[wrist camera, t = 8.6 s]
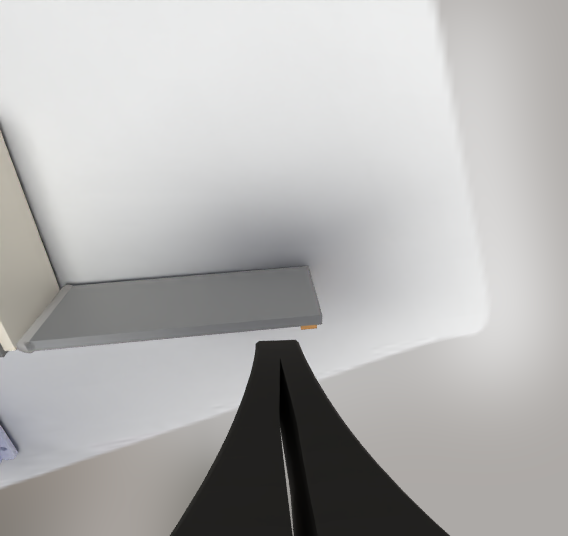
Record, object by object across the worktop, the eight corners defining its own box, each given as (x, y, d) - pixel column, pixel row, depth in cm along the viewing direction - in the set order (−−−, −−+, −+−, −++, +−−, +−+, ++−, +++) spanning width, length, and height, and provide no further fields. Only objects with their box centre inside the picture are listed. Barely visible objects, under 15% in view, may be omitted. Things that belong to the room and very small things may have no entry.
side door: (68, 301, 20) (24, 359, 16) (60, 285, 20) (13, 341, 16) (308, 281, 21) (321, 331, 17) (308, 264, 20) (321, 313, 16)
